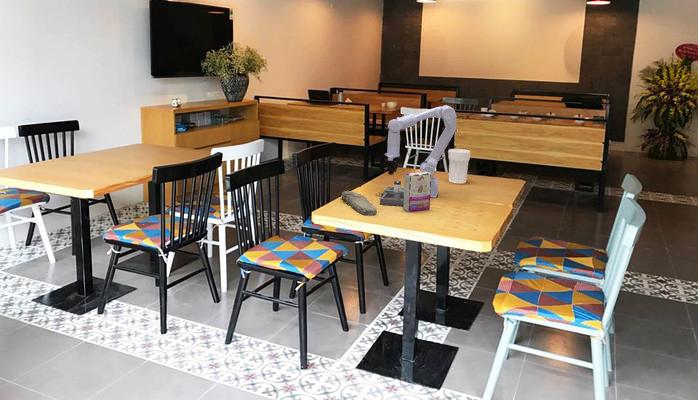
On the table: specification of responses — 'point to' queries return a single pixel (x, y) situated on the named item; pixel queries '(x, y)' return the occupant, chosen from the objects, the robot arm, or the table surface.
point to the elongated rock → (359, 203)
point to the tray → (392, 200)
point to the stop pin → (397, 190)
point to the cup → (458, 165)
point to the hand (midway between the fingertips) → (392, 173)
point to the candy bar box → (417, 191)
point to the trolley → (392, 190)
